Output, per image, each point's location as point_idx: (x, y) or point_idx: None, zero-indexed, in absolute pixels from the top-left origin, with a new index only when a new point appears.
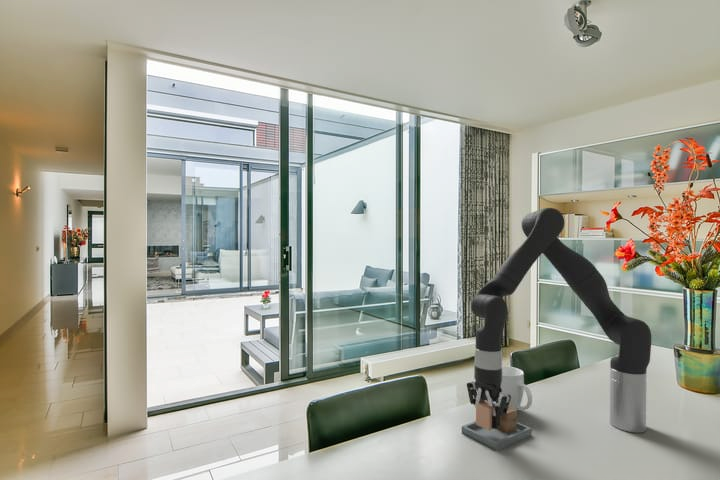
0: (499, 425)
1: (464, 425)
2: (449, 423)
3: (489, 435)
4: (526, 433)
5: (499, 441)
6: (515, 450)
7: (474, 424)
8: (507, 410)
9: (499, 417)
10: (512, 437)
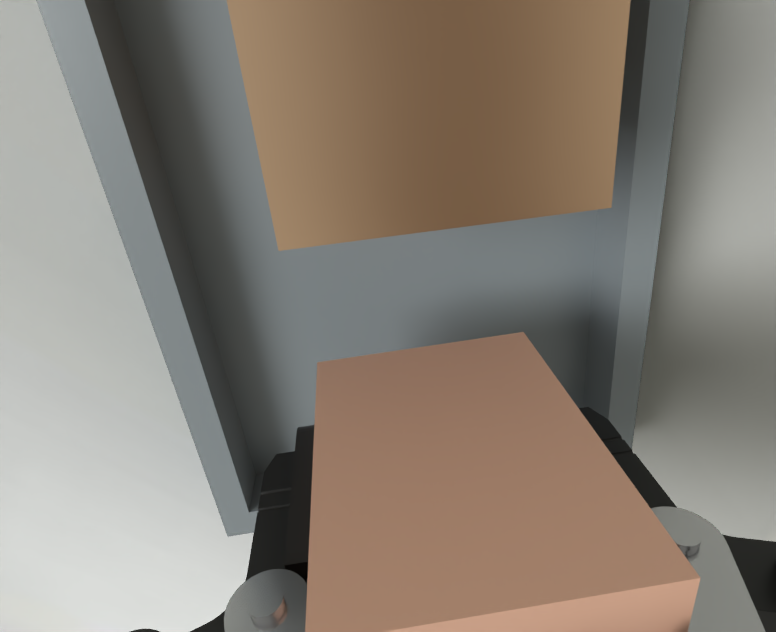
0: (597, 413)
1: (223, 510)
2: (18, 475)
3: (412, 339)
4: None
5: (624, 430)
6: (692, 292)
7: (216, 394)
8: (523, 76)
9: (665, 502)
10: (651, 248)
